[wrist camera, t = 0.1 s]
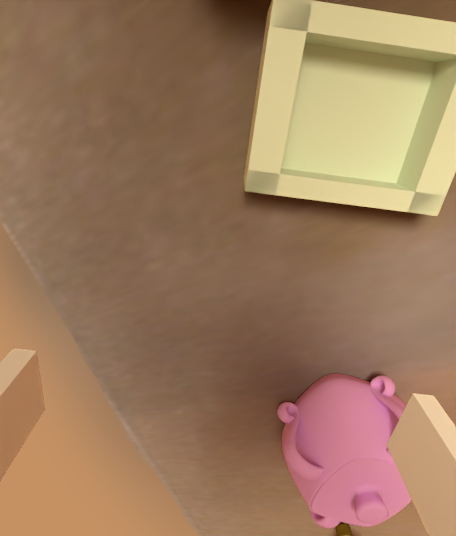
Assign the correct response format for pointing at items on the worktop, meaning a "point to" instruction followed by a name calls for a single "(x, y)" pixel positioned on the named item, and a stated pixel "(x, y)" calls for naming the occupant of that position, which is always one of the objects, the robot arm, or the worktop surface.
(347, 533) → the light bulb
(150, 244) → the worktop surface
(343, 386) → the pink multi-handled pot
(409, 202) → the well block
